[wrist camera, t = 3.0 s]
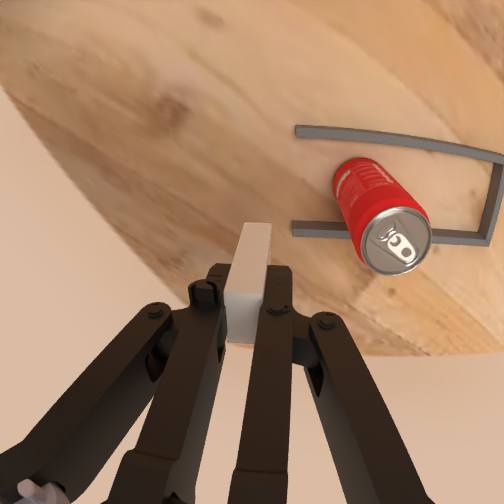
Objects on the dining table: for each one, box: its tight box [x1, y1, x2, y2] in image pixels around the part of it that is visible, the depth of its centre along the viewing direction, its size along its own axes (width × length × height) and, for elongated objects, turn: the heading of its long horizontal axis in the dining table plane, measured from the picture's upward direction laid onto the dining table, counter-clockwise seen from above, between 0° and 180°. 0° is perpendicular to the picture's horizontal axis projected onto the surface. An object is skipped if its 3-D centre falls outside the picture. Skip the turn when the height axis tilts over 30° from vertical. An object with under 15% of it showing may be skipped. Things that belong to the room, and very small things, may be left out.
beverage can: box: [333, 158, 432, 276], centre depth 23 cm, size 5×5×12 cm
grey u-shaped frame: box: [292, 125, 504, 247], centre depth 27 cm, size 22×10×2 cm, turn 90°
